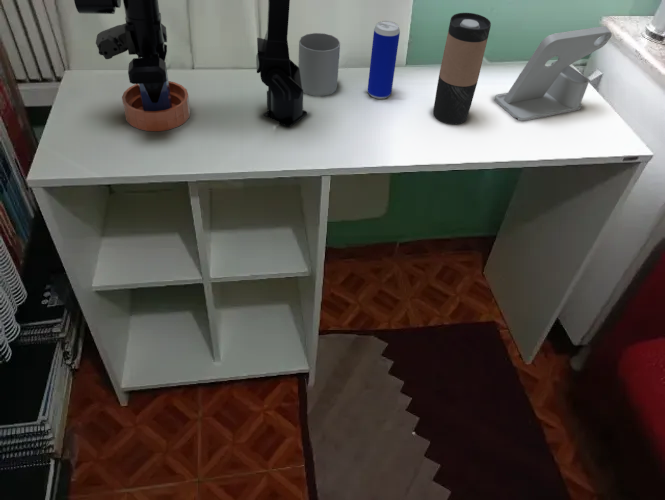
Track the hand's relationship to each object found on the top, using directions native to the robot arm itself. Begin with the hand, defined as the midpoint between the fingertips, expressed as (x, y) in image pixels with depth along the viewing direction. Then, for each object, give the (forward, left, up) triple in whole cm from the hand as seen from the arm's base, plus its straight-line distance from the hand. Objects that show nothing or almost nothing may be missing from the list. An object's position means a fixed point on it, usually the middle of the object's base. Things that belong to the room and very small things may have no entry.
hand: (155, 94), depth 117 cm
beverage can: (-29, -36, -5) cm, 46 cm away
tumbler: (0, 0, -4) cm, 4 cm away
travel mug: (-45, -38, -5) cm, 59 cm away
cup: (-17, -30, -5) cm, 35 cm away
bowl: (0, 0, -5) cm, 5 cm away
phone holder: (-58, -55, -5) cm, 80 cm away
